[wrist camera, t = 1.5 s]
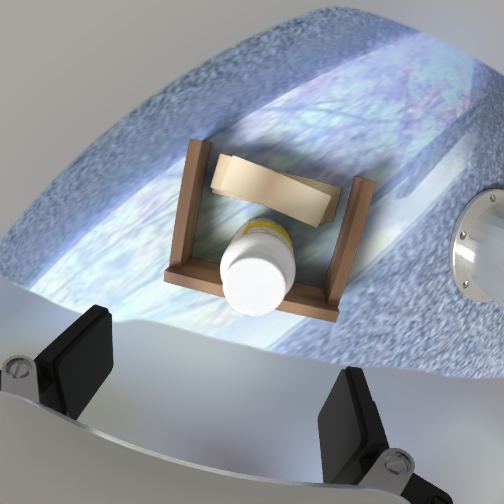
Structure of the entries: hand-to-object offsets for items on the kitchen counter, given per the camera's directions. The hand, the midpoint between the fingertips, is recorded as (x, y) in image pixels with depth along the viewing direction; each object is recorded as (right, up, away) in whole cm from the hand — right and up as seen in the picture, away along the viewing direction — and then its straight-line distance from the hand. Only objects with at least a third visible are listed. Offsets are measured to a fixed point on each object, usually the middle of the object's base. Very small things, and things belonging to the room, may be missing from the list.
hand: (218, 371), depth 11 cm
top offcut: (+3, +10, +14) cm, 17 cm away
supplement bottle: (+2, +5, +17) cm, 18 cm away
